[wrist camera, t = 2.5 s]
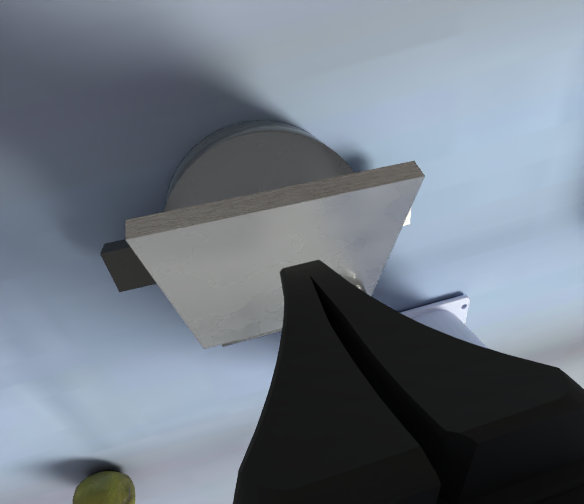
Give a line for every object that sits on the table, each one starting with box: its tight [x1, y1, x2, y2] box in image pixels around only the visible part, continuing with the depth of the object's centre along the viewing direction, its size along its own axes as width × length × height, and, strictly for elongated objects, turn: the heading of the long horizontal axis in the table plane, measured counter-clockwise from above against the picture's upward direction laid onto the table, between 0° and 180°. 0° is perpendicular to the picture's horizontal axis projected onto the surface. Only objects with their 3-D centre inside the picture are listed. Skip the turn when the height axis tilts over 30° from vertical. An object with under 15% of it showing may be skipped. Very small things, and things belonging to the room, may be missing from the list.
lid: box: [125, 161, 425, 349], centre depth 16 cm, size 12×10×2 cm
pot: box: [100, 120, 411, 292], centre depth 20 cm, size 12×17×3 cm
